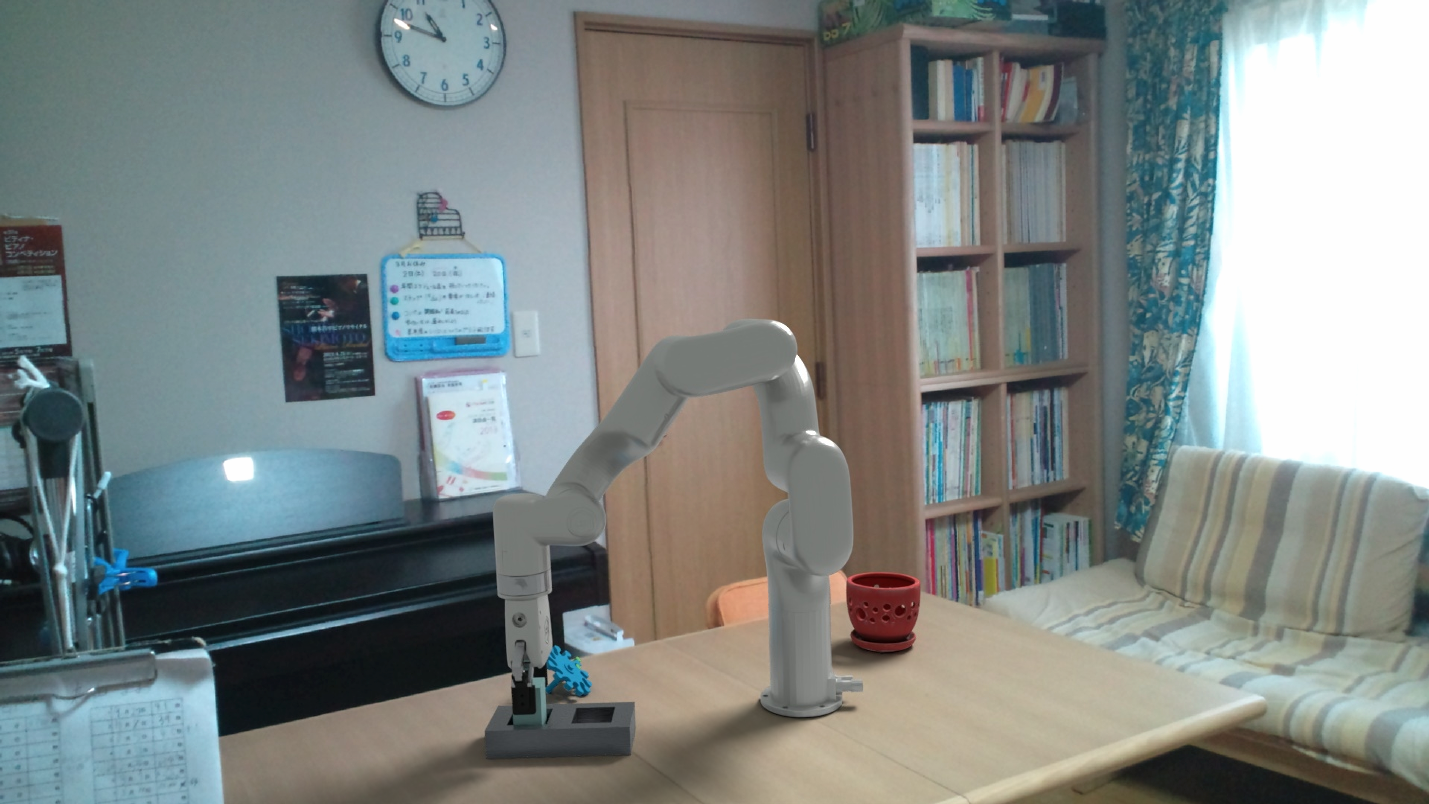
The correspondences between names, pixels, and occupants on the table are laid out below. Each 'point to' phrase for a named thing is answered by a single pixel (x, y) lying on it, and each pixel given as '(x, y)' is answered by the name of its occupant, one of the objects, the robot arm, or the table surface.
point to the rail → (564, 732)
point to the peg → (540, 706)
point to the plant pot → (883, 610)
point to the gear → (567, 672)
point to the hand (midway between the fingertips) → (531, 700)
